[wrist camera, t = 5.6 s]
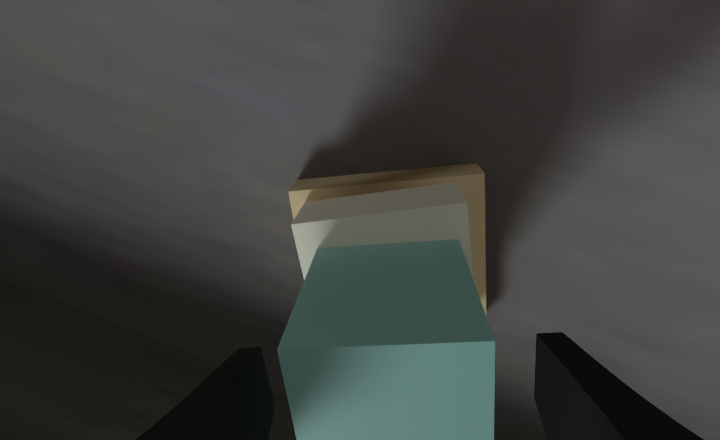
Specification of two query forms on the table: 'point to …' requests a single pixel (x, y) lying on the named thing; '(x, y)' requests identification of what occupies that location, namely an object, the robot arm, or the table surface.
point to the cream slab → (383, 220)
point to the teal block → (389, 346)
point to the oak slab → (357, 184)
